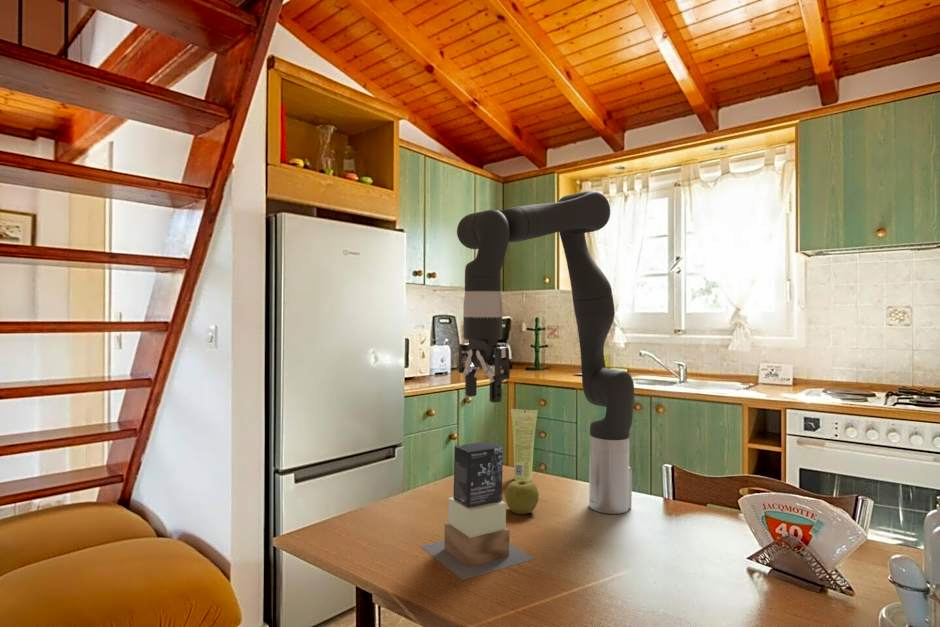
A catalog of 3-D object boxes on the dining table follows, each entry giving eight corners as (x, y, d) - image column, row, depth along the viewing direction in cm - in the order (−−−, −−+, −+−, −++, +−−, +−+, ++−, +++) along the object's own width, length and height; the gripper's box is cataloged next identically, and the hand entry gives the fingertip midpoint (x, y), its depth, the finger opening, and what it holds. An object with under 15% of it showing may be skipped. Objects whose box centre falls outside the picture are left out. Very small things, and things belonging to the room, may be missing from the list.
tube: (525, 475, 157) (526, 407, 157) (537, 480, 153) (538, 409, 153) (509, 478, 154) (510, 409, 154) (521, 483, 150) (522, 411, 150)
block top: (482, 515, 111) (482, 491, 111) (505, 529, 104) (506, 502, 104) (448, 523, 107) (448, 497, 107) (470, 538, 100) (470, 510, 100)
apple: (498, 513, 127) (498, 482, 127) (518, 504, 133) (518, 475, 133) (525, 521, 122) (525, 489, 122) (545, 512, 128) (545, 481, 128)
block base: (482, 539, 112) (483, 514, 112) (509, 555, 104) (509, 529, 104) (444, 548, 107) (444, 523, 107) (469, 567, 99) (469, 539, 99)
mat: (487, 531, 117) (487, 529, 117) (535, 560, 103) (535, 558, 103) (420, 548, 108) (420, 546, 108) (462, 582, 95) (462, 580, 95)
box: (468, 509, 101) (468, 451, 101) (452, 499, 106) (453, 444, 106) (503, 501, 105) (503, 446, 105) (486, 493, 110) (487, 440, 110)
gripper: (520, 315, 102) (520, 402, 102) (478, 314, 114) (478, 392, 114) (487, 315, 98) (487, 406, 98) (447, 314, 110) (447, 395, 110)
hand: (482, 398), depth 106 cm, fingers open, 8 cm apart
